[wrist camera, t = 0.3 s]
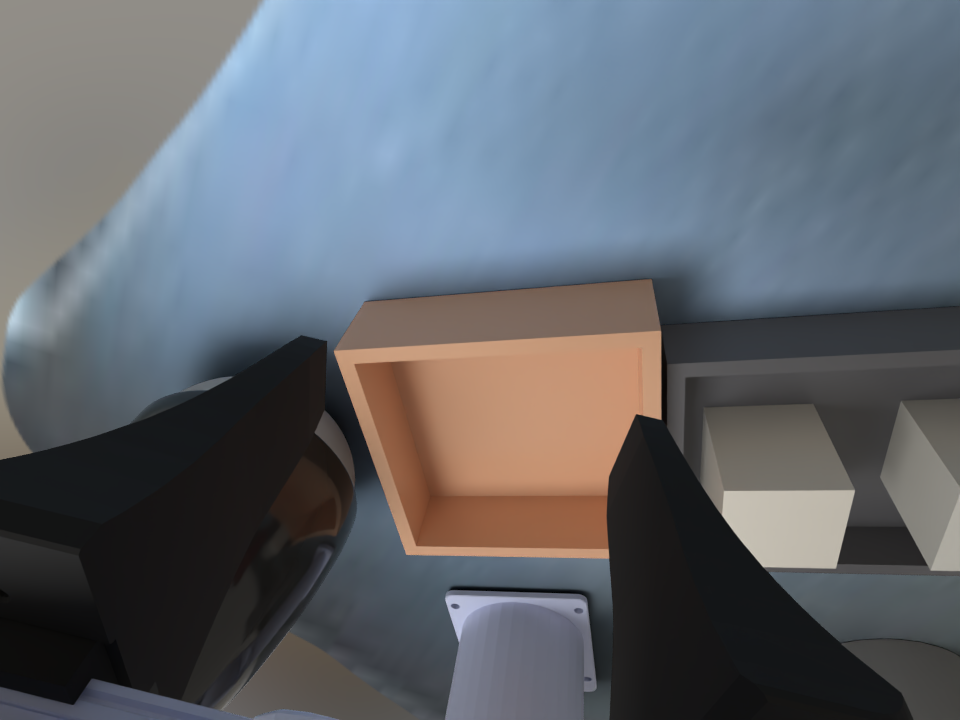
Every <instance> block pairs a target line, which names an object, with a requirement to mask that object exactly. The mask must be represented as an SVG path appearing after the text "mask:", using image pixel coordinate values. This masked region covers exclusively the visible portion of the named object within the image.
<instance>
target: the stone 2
mask: <svg viewBox="0 0 960 720" xmlns="http://www.w3.org/2000/svg"><path fill="white" fill-rule="evenodd" d="M880 478H881V480H882V482H883V484H884V486H885V488H886V489H887V491H888V493H889V495H890V497H891V499H892V500H893V502H894V504H895V506H896V508H897V510H898V511H899V513H900V515H901V517H902V519H903V521H904V523H905V524H906V526H907V528H908V530H909V532H910V534H911V535H912V537H913V539H914V541H915V543H916V545H917V546H918V548H919V550H920V552H921V554H922V556H923V558H924V559H925V561H926V563H927V565H928V567H929V569H930V570H931V571H960V399H937V400H908V401H901V403H900V406H899V410H898V413H897V417H896V421H895V424H894V428H893V432H892V435H891V439H890V443H889V446H888V450H887V454H886V457H885V461H884V465H883V468H882V472H881V476H880Z"/></svg>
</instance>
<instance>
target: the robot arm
mask: <svg viewBox="0 0 960 720" xmlns="http://www.w3.org/2000/svg"><path fill="white" fill-rule="evenodd" d="M326 357H327V341H323V340H319V339H314V338H310V337H306V336H302V335H301V336H300V337H298V338H296V339H294V340H293V341H291V342H289V343H288V344H286V345H285V346H283V347H281V348H280V349H278V350H276V351H275V352H273V353H272V354H270V355H268V356H267V357H265V358H264V359H262V360H260V361H259V362H257V363H256V364H254V365H252V366H250V367H249V368H247V369H245V370H244V371H242V372H240V373H239V374H237V375H235V376H234V377H232V378H230V379H228V380H226V381H224V382H223V383H221V384H219V385H217V386H215V387H213V388H211V389H209V390H208V391H206V392H204V393H202V394H200V395H198V396H196V397H194V398H192V399H190V400H188V401H186V402H184V403H181V404H179V405H177V406H175V407H172V408H170V409H168V410H165V411H163V412H161V413H158V414H156V415H154V416H151V417H149V418H146V419H143V420H141V421H138V422H135V423H132V424H129V425H126V426H124V427H121V428H118V429H115V430H112V431H109V432H106V433H103V434H101V435H97V436H94V437H91V438H87V439H84V440H81V441H77V442H74V443H70V444H67V445H63V446H59V447H55V448H51V449H48V450H44V451H39V452H35V453H31V454H27V455H22V456H17V457H12V458H7V459H2V460H0V720H339V719H335V718H331V717H326V716H322V715H318V714H314V713H310V712H301V711H294V710H286V709H281V710H276V711H272V712H268V713H264V714H261V715H259V716H257V717H254V718H253V719H252V718H248V717H244V716H240V715H236V714H231V713H228V712H224V711H220V710H216V709H212V708H208V707H204V706H200V705H196V704H192V703H188V702H184V701H181V699H182V697H183V694H184V692H185V689H186V687H187V684H188V682H189V679H190V677H191V674H192V672H193V669H194V667H195V664H196V662H197V660H198V657H199V655H200V653H201V650H202V648H203V646H204V643H205V641H206V639H207V636H208V634H209V632H210V630H211V627H212V625H213V623H214V620H215V618H216V616H217V613H218V611H219V609H220V607H221V605H222V602H223V600H224V598H225V596H226V594H227V591H228V589H229V587H230V585H231V583H232V581H233V578H234V576H235V574H236V572H237V570H238V568H239V566H240V564H241V562H242V559H243V557H244V555H245V553H246V551H247V549H248V547H249V545H250V543H251V541H252V539H253V537H254V535H255V533H256V531H257V530H258V528H259V526H260V524H261V522H262V521H263V519H264V517H265V516H266V514H267V513H268V511H269V509H270V508H271V506H272V505H273V503H274V501H275V500H276V498H277V496H278V495H279V493H280V492H281V490H282V488H283V487H284V485H285V484H286V482H287V480H288V479H289V477H290V475H291V474H292V472H293V471H294V469H295V467H296V466H297V464H298V462H299V461H300V459H301V457H302V456H303V454H304V453H305V451H306V449H307V447H308V446H309V444H310V442H311V439H312V437H313V435H314V433H315V431H316V429H317V426H318V424H319V422H320V419H321V417H322V415H323V412H324V410H325V390H326ZM606 517H607V533H608V548H609V561H610V574H611V587H612V601H613V657H612V681H611V701H610V719H609V720H914V719H913V717H912V715H911V712H910V710H909V708H908V706H907V703H906V701H905V699H904V697H903V695H902V693H901V692H900V691H899V690H897V689H896V688H895V687H894V686H892V685H891V684H890V683H889V682H887V681H886V680H885V679H884V678H883V677H881V676H880V675H879V674H878V673H876V672H875V671H874V670H873V669H871V668H870V667H869V666H868V665H866V664H865V663H864V662H863V661H861V660H860V659H859V658H858V657H856V656H855V655H854V654H853V653H851V652H850V651H849V650H848V649H847V648H845V647H844V646H843V645H842V644H841V643H840V642H839V641H838V640H836V639H835V638H834V637H833V636H832V635H831V634H830V633H829V632H828V631H826V630H825V629H824V628H823V627H822V626H821V625H820V624H819V623H818V622H816V621H815V620H814V619H813V618H812V617H811V616H810V615H809V614H808V613H807V612H806V611H805V610H804V609H803V608H802V607H801V606H800V605H799V604H798V603H797V602H796V601H795V600H794V599H793V598H792V597H791V596H790V595H789V594H788V593H787V592H786V591H785V590H784V589H783V588H782V587H781V586H780V585H779V584H778V583H777V582H776V581H775V580H774V578H773V577H772V576H771V575H770V574H769V573H768V572H767V571H766V570H765V569H764V567H763V566H762V565H761V564H760V563H759V562H758V560H757V559H756V558H755V557H754V556H753V554H752V553H751V552H750V551H749V550H748V548H747V547H746V546H745V545H744V544H743V543H742V541H741V540H740V539H739V537H738V536H737V535H736V534H735V532H734V531H733V530H732V528H731V527H730V526H729V524H728V523H727V522H726V520H725V519H724V517H723V516H722V515H721V513H720V512H719V510H718V509H717V508H716V506H715V505H714V503H713V502H712V500H711V499H710V497H709V496H708V495H707V493H706V491H705V490H704V488H703V487H702V485H701V484H700V482H699V481H698V479H697V477H696V476H695V474H694V473H693V471H692V469H691V468H690V466H689V464H688V463H687V461H686V459H685V458H684V456H683V454H682V452H681V451H680V449H679V447H678V446H677V444H676V442H675V440H674V439H673V437H672V435H671V434H670V432H669V430H668V428H667V427H666V425H665V423H664V422H663V420H660V419H656V418H651V417H647V416H643V415H639V414H636V415H635V417H634V420H633V422H632V424H631V427H630V429H629V431H628V433H627V436H626V438H625V440H624V443H623V445H622V447H621V450H620V452H619V454H618V456H617V459H616V461H615V463H614V466H613V468H612V470H611V473H610V475H609V482H608V496H607V515H606ZM445 600H446V604H447V607H448V610H449V613H450V616H451V619H452V622H453V625H454V628H455V631H456V634H457V637H458V641H459V648H458V653H457V659H456V664H455V669H454V675H453V680H452V685H451V691H450V696H449V701H448V707H447V712H446V717H445V720H584V691H586V692H592V691H595V690H596V688H597V682H596V673H595V664H594V655H593V646H592V637H591V629H590V620H589V611H588V602H587V598H586V597H585V596H583V595H581V594H565V593H533V592H500V591H468V590H450V591H448V592H447V593H446V597H445Z"/></svg>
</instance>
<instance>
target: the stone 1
mask: <svg viewBox="0 0 960 720" xmlns="http://www.w3.org/2000/svg"><path fill="white" fill-rule="evenodd" d="M700 481H701V485H702V487H703V488H704V490H705V491H706V493H707V495H708V496H709V497H710V499H711V500H712V502H713V503H714V505H715V506H716V508H717V509H718V510H719V512H720V513H721V515H722V516H723V517H724V519H725V520H726V522H727V523H728V524H729V526H730V527H731V528H732V530H733V531H734V532H735V534H736V535H737V536H738V537H739V539H740V540H741V541H742V543H743V544H744V545H745V546H746V547H747V548H748V550H749V551H750V552H751V553H752V554H753V556H754V557H755V558H756V559H757V560H758V562H759V563H760V564H761V565H762V566H763V567H780V568H829V569H836V566H837V562H838V558H839V554H840V550H841V546H842V542H843V538H844V534H845V530H846V525H847V521H848V517H849V513H850V509H851V505H852V501H853V497H854V493H855V489H854V487H853V485H852V483H851V481H850V479H849V476H848V474H847V472H846V470H845V468H844V466H843V464H842V462H841V460H840V458H839V456H838V454H837V452H836V450H835V448H834V446H833V443H832V441H831V439H830V437H829V435H828V433H827V431H826V429H825V427H824V425H823V423H822V421H821V419H820V417H819V415H818V413H817V411H816V408H815V406H814V404H791V405H762V406H733V407H704V410H703V431H702V452H701V473H700Z"/></svg>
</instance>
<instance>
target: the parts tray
mask: <svg viewBox="0 0 960 720" xmlns="http://www.w3.org/2000/svg"><path fill="white" fill-rule="evenodd" d="M660 327H661V420H663V422H664V423H665V425H666V427H667V428H668V430H669V432H670V434H671V435H672V437H673V439H674V440H675V442H676V444H677V446H678V447H679V449H680V451H681V452H682V454H683V456H684V458H685V459H686V461H687V463H688V464H689V466H690V468H691V469H692V471H693V473H694V474H695V476H696V477H697V479H698V481H699V482H700V484H701V481H700V473H701V452H702V431H703V410H704V407H733V406H762V405H791V404H814V406H815V408H816V411H817V413H818V415H819V417H820V419H821V421H822V423H823V425H824V427H825V429H826V431H827V433H828V435H829V437H830V439H831V441H832V443H833V446H834V448H835V450H836V452H837V454H838V456H839V458H840V460H841V462H842V464H843V466H844V468H845V470H846V472H847V474H848V476H849V479H850V481H851V483H852V485H853V487H854V489H855V493H854V497H853V501H852V505H851V509H850V513H849V517H848V521H847V525H846V530H845V534H844V538H843V542H842V546H841V550H840V554H839V558H838V562H837V566H836V569H829V568H780V567H764V569H765V570H766V571H767V572H799V573H846V574H892V575H939V576H960V571H931V570H930V569H929V567H928V565H927V563H926V561H925V559H924V558H923V556H922V554H921V552H920V550H919V548H918V546H917V545H916V543H915V541H914V539H913V537H912V535H911V534H910V532H909V530H908V528H907V526H906V524H905V523H904V521H903V519H902V517H901V515H900V513H899V511H898V510H897V508H896V506H895V504H894V502H893V500H892V499H891V497H890V495H889V493H888V491H887V489H886V488H885V486H884V484H883V482H882V480H881V478H880V476H881V472H882V468H883V465H884V461H885V457H886V454H887V450H888V446H889V443H890V439H891V435H892V432H893V428H894V424H895V421H896V417H897V413H898V410H899V406H900V403H901V401H908V400H937V399H960V306H958V307H942V308H926V309H910V310H894V311H879V312H863V313H847V314H831V315H815V316H800V317H784V318H768V319H752V320H737V321H721V322H705V323H689V324H673V325H660Z"/></svg>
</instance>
